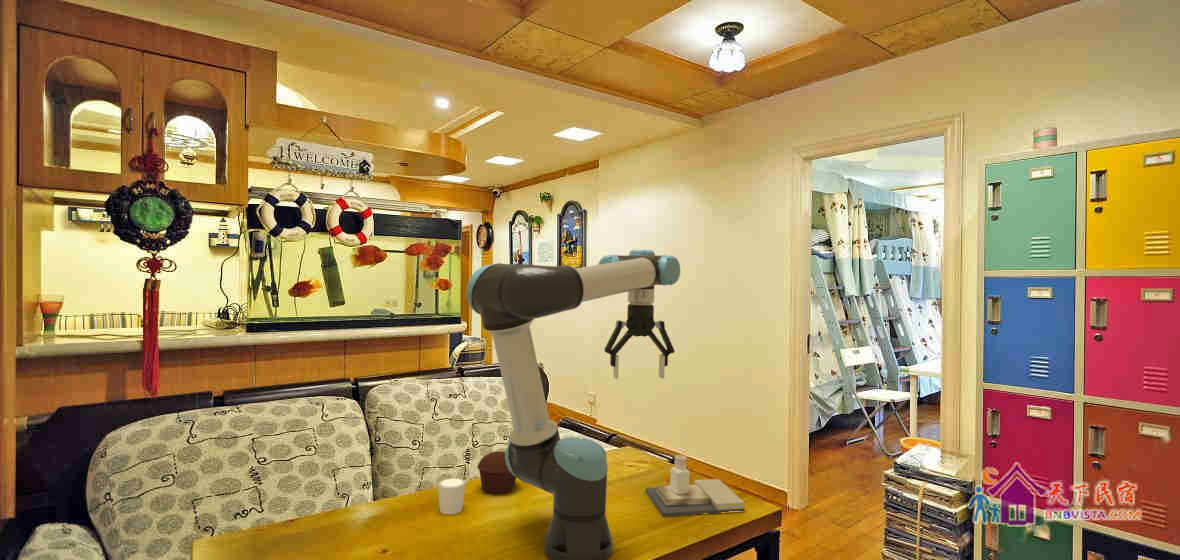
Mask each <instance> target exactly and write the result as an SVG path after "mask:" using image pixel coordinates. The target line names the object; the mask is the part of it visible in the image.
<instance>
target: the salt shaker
mask: <svg viewBox="0 0 1180 560" xmlns="http://www.w3.org/2000/svg"><path fill="white" fill-rule="evenodd" d="M687 459H688V458H687V456H685V455H682V454H676V455H675V456H674V466H672V467H671V468H670V475H669V476H670V479H669V485H670V490H671V491H673V492H674V493H675V494H686V493H688V492H689V485H690V470H689V469H688V468H686V467H687Z"/></svg>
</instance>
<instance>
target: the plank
mask: <svg viewBox="0 0 1180 560" xmlns="http://www.w3.org/2000/svg"><path fill="white" fill-rule="evenodd" d="M655 488H656V492H657V494H658V495H659V496H660V498H661V499H662V500H663V502H664V503H665V504H666V505H697V504H710V498H709V497H708V496H707V495H706V494H705V493H704V491H703V490H702V489H701V488H700V487H699V486H698V485H694V484H689V492H688V493H686V494H675V493H674V492H673V491H671V490H670V484H669V485H655Z"/></svg>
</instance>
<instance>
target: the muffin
mask: <svg viewBox="0 0 1180 560" xmlns="http://www.w3.org/2000/svg"><path fill="white" fill-rule="evenodd" d="M477 469H478V470H479V476H480V483H481V490H482V491H483V492H484V493H485V494H488V495H492V496H498V495H506V494H508V493H512V492H513V490H514V489H515V486H516V479H517V477H515V476H514V475H513V474H512V473H511V472H510V471H509V469H508V467H507V465H506V461H505V451H491V452H489V453H487V454H486V455H484V456H482V458H481V459H480V461H478V464H477Z"/></svg>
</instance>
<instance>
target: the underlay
mask: <svg viewBox="0 0 1180 560" xmlns="http://www.w3.org/2000/svg"><path fill="white" fill-rule="evenodd" d="M693 485H698V486H699V487H700V488H701V489H702V490H703V491H704V493H705V494H706V495H707V496H708V497H709V498H710V504H697V505H666V504H665V503H664V502H663V500H662V499H661V498H660V496H659V495H658V494H657V492H656V487H645V490H644V491H645V493H646V495H647V494H648V495H647V496H648V498H649V497H650V498H649V499H650V500H651V502H652V501H653V502H652V503H653V504H655V505H654V506H655V508H656V509H657V510H658V511H659V513H660V515H661V514H662V515H661V517H663V518H667V517H666V516H672V517H681V516H680V515H688V516H693V515H692V514H702V513H703V514H704V513H721V512H729V511H744V512H745V501H743V500H742V499H741V498H740V497H739V496H738V495H737V494H736V493H734V491H733V490H732V489H730V488H729V487H728V486H727V485H726V484H725V483H724V482H723V481H721V480H720V478H715V479H714V478H713V479H712V478H711V479H695V480H693Z"/></svg>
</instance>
